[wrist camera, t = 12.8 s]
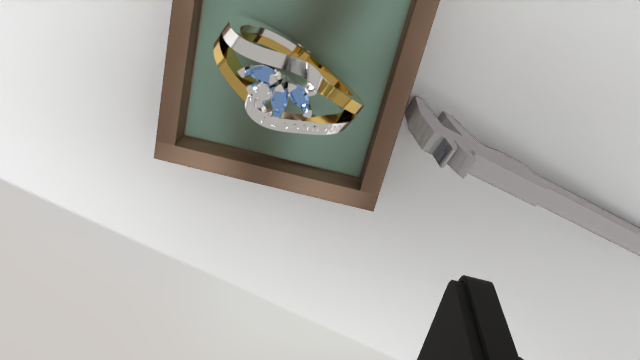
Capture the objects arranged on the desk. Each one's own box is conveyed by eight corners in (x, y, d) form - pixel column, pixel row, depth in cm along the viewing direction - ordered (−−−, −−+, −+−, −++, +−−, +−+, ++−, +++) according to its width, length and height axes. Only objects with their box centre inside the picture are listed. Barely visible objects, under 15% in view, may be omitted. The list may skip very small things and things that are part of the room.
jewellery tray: (452, -67, 27) (460, -65, 25) (372, 191, 33) (373, 211, 30) (203, -132, 26) (188, -136, 24) (168, 141, 32) (153, 158, 30)
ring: (226, 36, 29) (179, 76, 21) (261, -18, 27) (225, 5, 20) (336, 117, 30) (327, 181, 23) (374, 70, 29) (378, 121, 21)
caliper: (403, 109, 31) (411, 153, 25) (414, 92, 30) (426, 133, 25) (697, 279, 34) (766, 353, 28) (712, 266, 33) (784, 338, 28)
